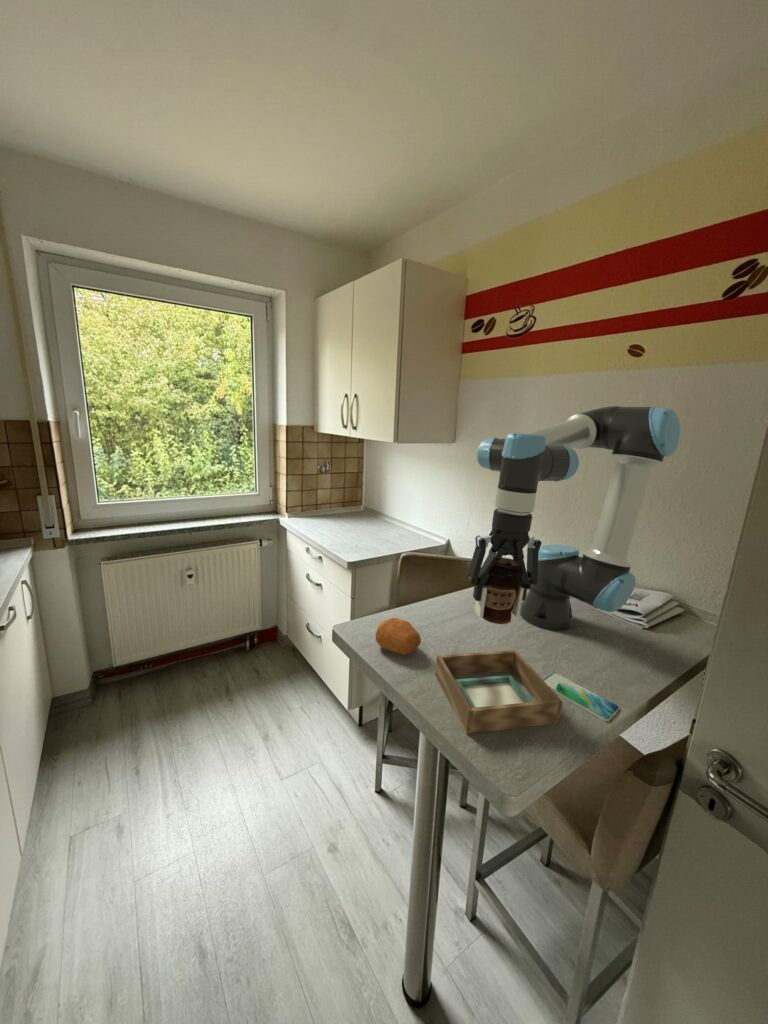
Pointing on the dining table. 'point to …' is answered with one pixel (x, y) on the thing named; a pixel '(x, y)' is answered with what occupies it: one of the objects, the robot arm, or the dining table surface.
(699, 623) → the dining table surface
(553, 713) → the crate
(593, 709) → the smartphone
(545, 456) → the robot arm
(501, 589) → the coffee cup
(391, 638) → the potato
